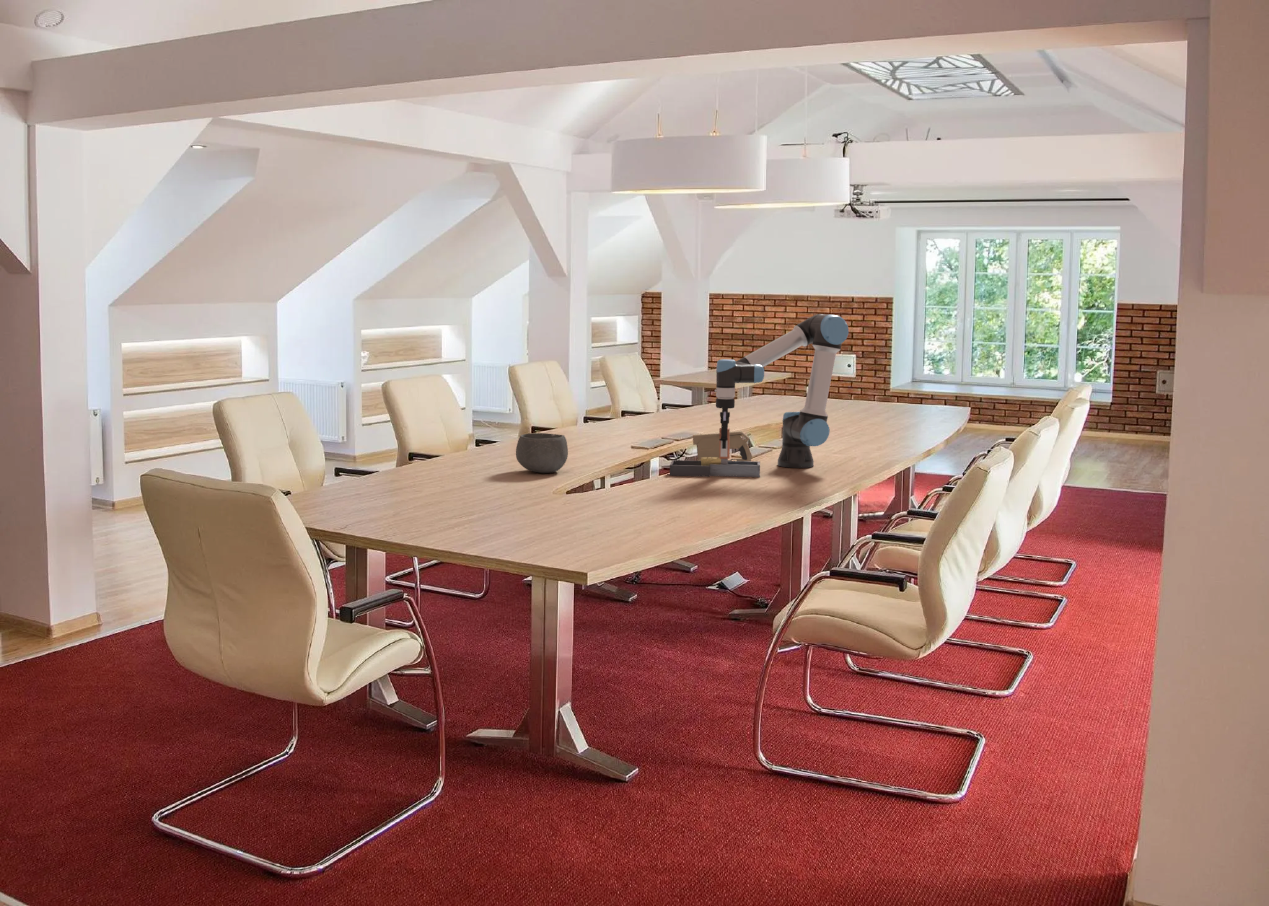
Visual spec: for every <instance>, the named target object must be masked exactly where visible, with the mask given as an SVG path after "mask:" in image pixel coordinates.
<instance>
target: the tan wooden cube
mask: <svg viewBox="0 0 1269 906" xmlns="http://www.w3.org/2000/svg"><path fill="white" fill-rule="evenodd" d="M710 464H711V457H702V458H701V466H710Z"/></svg>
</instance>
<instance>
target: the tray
mask: <svg viewBox="0 0 1269 906" xmlns="http://www.w3.org/2000/svg"><path fill="white" fill-rule="evenodd" d="M669 476H670V477H671V476H672V477H707V478H708V477H709V478H710V477H711V476H710V466H701V461H697V460H693V459H691V460H688V459H686V460H685V459H683V460H682V459H672V460H671V462H670V464H669Z"/></svg>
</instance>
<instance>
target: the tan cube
mask: <svg viewBox="0 0 1269 906" xmlns="http://www.w3.org/2000/svg"><path fill="white" fill-rule="evenodd" d="M711 464H721V459H719V457H712V458H711Z"/></svg>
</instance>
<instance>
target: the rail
mask: <svg viewBox="0 0 1269 906" xmlns="http://www.w3.org/2000/svg"><path fill="white" fill-rule="evenodd" d="M710 477H737V478H739V477H740V478H741V477H742V478H743V477H745V478H760V477H761V461H758V460H757V461H752V460H751V461H737V460H732V461H728V464H710Z"/></svg>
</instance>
